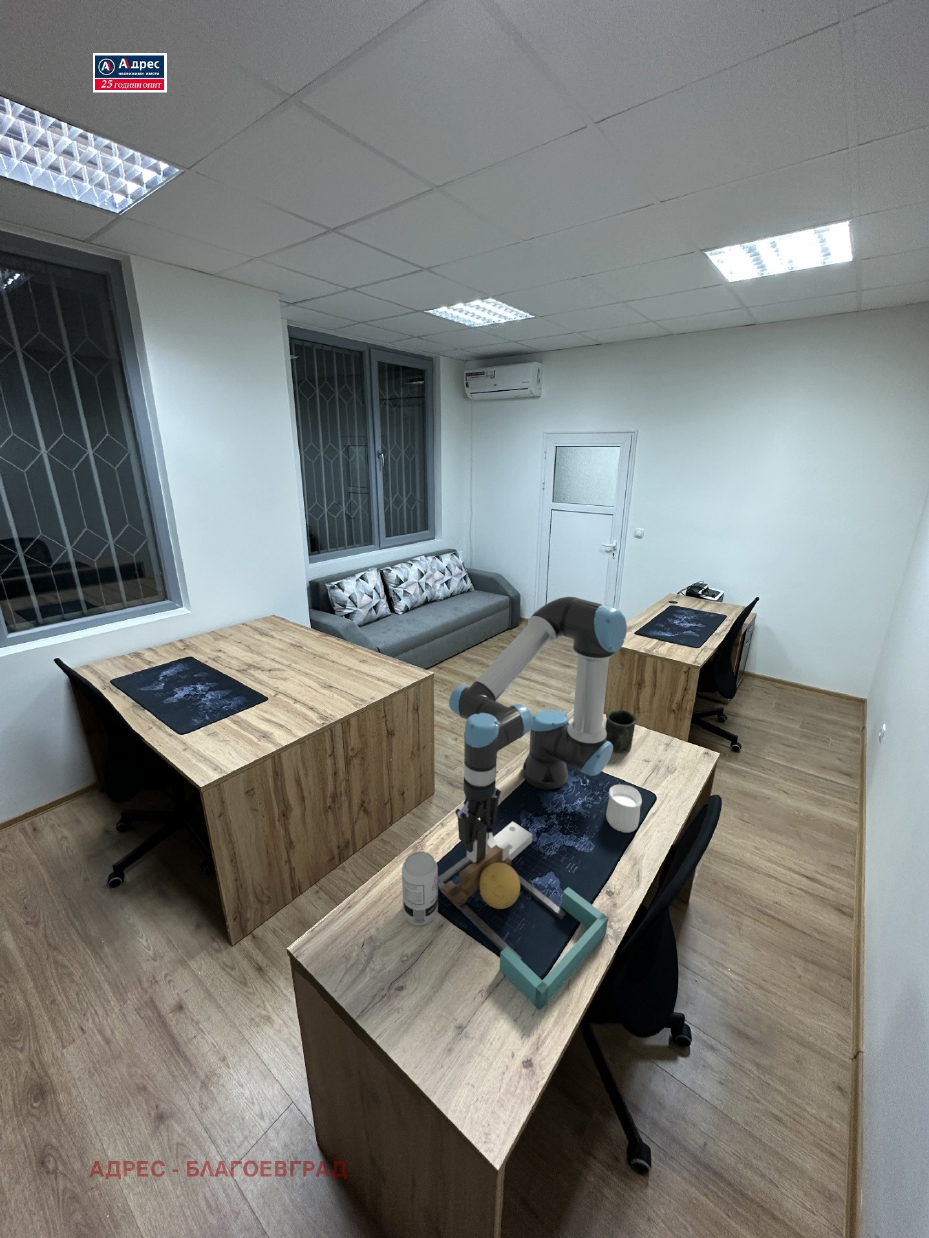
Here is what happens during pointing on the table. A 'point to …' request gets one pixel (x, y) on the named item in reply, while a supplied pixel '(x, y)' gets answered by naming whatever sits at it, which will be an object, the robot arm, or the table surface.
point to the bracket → (510, 840)
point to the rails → (482, 924)
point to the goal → (545, 989)
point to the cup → (623, 808)
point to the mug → (620, 729)
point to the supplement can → (420, 888)
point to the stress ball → (499, 885)
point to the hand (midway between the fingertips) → (477, 854)
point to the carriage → (473, 870)
